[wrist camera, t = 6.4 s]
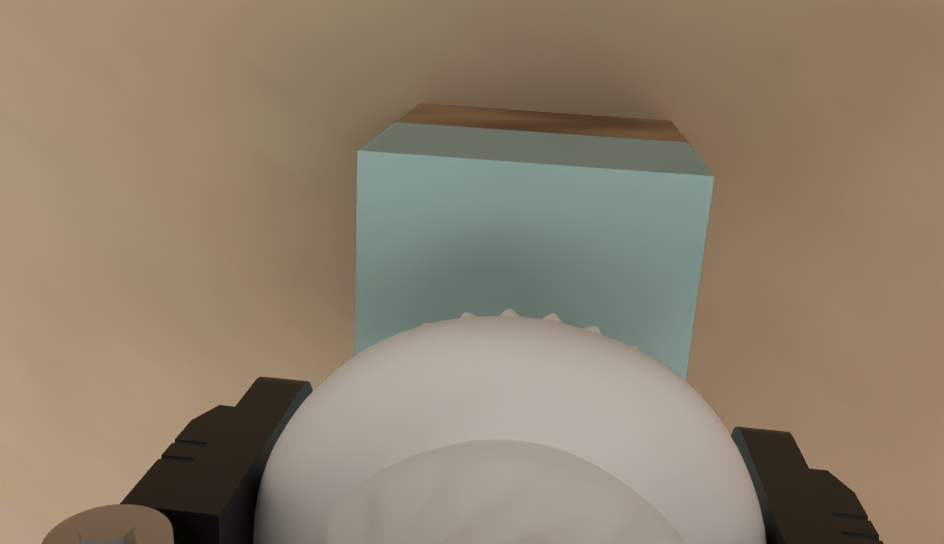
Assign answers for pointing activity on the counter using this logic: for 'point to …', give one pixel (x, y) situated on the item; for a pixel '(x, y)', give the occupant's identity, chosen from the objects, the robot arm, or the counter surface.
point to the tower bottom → (544, 122)
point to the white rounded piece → (505, 446)
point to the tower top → (531, 233)
